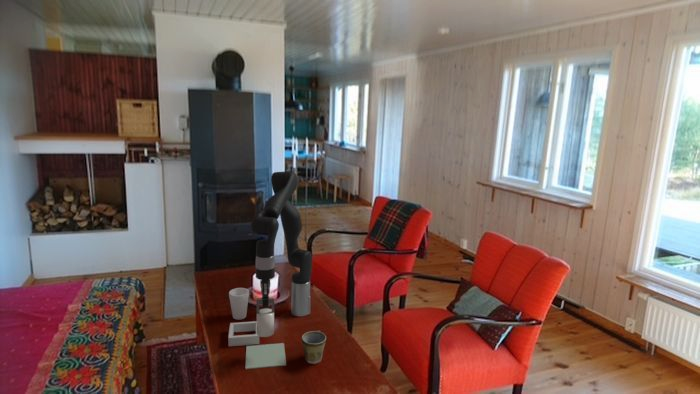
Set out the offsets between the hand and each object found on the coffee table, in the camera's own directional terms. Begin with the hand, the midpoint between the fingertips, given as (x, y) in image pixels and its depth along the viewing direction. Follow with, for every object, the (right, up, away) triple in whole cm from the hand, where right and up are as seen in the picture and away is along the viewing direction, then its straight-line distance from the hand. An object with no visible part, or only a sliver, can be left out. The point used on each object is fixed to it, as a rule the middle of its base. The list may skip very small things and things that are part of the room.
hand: (265, 305), depth 170 cm
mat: (-1, -22, +4) cm, 22 cm away
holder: (-13, -19, +18) cm, 29 cm away
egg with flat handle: (0, -12, +2) cm, 12 cm away
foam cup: (-20, -15, +36) cm, 44 cm away
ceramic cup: (+20, -23, +5) cm, 31 cm away
